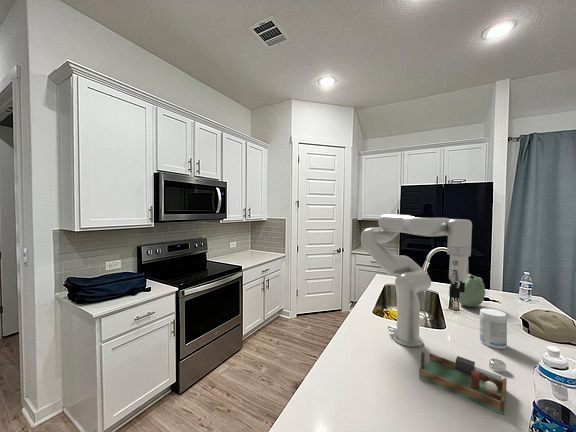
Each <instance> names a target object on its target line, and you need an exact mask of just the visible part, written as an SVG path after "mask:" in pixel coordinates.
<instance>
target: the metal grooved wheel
mask: <svg viewBox="0 0 576 432" xmlns="http://www.w3.org/2000/svg"><path fill="white" fill-rule="evenodd" d="M488 360H489V364H488V368H489V369H490V370H492V371H493V372H496V373H499V374H506V373H507V364H506V362H504V361H503V360H500V359H499V358H490V359H488Z"/></svg>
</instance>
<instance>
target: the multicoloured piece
mask: <svg viewBox="0 0 576 432" xmlns="http://www.w3.org/2000/svg"><path fill="white" fill-rule="evenodd" d="M455 362H456V368H455V369H456V370H458V371H461V372H464V373H466V374H469V375H471V387H472V388H474V389H477V390H479V387H480V374H483V375H486V376H489V377H491V378H494V379H497V380H500V381H501V380H502V379H503V378H502V377H503V376H502V375H499V374H496V373H494V372H491V371H488V370H485V369H482V368H480V367H477V366H476V361H473V360H470V359H468V358H464V357H463V356H459V355H457V356H456V358H455Z"/></svg>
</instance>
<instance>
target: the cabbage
mask: <svg viewBox="0 0 576 432" xmlns="http://www.w3.org/2000/svg"><path fill="white" fill-rule="evenodd" d="M464 283H465V292H464V293H462V292H460V298H459V302H458V303H459V304H461V305H463V306H465V307H467V308H475V307H478V306H480V305H482V303H483V302H484V299H485V297H486V288H485V287H486V286H485V283H484V281H483V278H482V277H479V276H475V275H472V274H471V273H468V279H467V280H466V281H465V282H464Z"/></svg>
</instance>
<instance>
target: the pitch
mask: <svg viewBox="0 0 576 432" xmlns="http://www.w3.org/2000/svg"><path fill="white" fill-rule="evenodd" d="M425 354H426V352H425V351H422V352H421V353H420V368H419V373H418V374H419V375H418V377H419V379H420V380H421V381H424V382H426V383H429V384H431V385H433V386H436V387H438V388H440V389H443V390H445V391H447V392H449V393H452V394H454V395H457V396H459V397H460V398H463V399H466V400H468V401H470V402H473V403H475V404H477V405H480V406H481V407H484V408H486V409H488V410H491V411H492V412H496V413H498V414H500V415H502V416H505V412H506V411H505V409H506V408H505V407H506V398H507V387H508V386H507V383H508V381H507V378H505V377H503V378H502V380H501V381H500V380H497V379H494V378H491V377H489V376H486V375H483V374H480V387H479V390H477V389H474V388H472V387H471V375H469V374H466V373H464V372H461V371H458V370H456V369H455V368H456V361H453V360H450V359H447V358H445V357H442V356H439V355H436V354H434V353H429V354H428V355H429V359H428V361H427V363H426V362H425V360H426V359H425V356H426V355H425ZM425 363H426V364H425ZM486 381H491V382H493V383H494V384H495V385H496V386H497V388H498V392H497V393H495V392H493V391H490V390H488V389H486V390H485V389H484V383H485V382H486Z"/></svg>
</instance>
